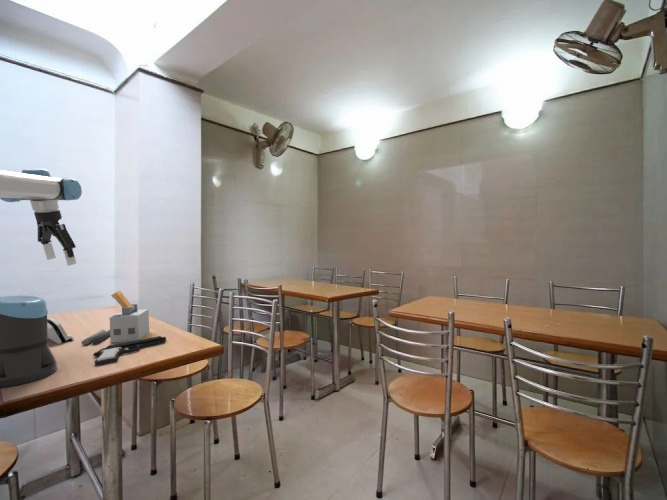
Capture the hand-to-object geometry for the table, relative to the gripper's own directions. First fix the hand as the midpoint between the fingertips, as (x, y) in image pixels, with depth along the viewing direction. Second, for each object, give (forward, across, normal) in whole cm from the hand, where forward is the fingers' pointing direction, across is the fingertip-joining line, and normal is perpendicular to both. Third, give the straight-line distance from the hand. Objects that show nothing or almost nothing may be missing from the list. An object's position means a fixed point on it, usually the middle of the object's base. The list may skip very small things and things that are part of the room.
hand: (61, 261), depth 127 cm
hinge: (+30, -2, +11) cm, 32 cm away
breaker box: (+29, -29, -3) cm, 41 cm away
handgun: (+24, -47, +8) cm, 53 cm away
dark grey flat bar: (+29, -20, +4) cm, 35 cm away
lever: (+19, -28, -6) cm, 34 cm away
